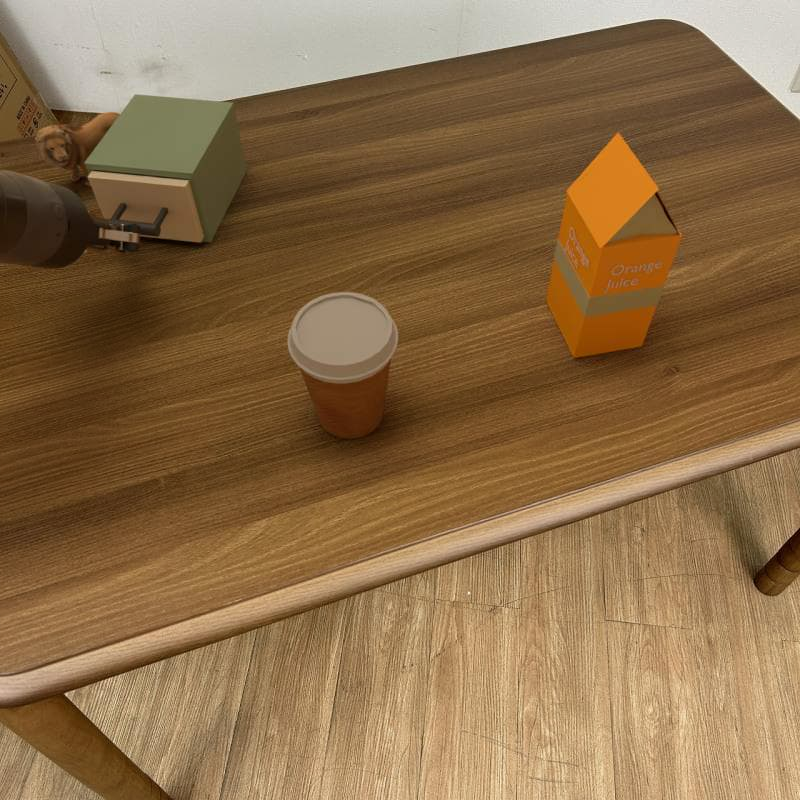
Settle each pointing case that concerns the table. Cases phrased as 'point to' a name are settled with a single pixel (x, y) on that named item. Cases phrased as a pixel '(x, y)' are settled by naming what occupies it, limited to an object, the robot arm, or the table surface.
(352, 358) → the disposable coffee cup
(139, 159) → the cabinet
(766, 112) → the table surface
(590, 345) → the orange juice
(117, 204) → the drawer
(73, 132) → the lion figurine
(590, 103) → the table surface
